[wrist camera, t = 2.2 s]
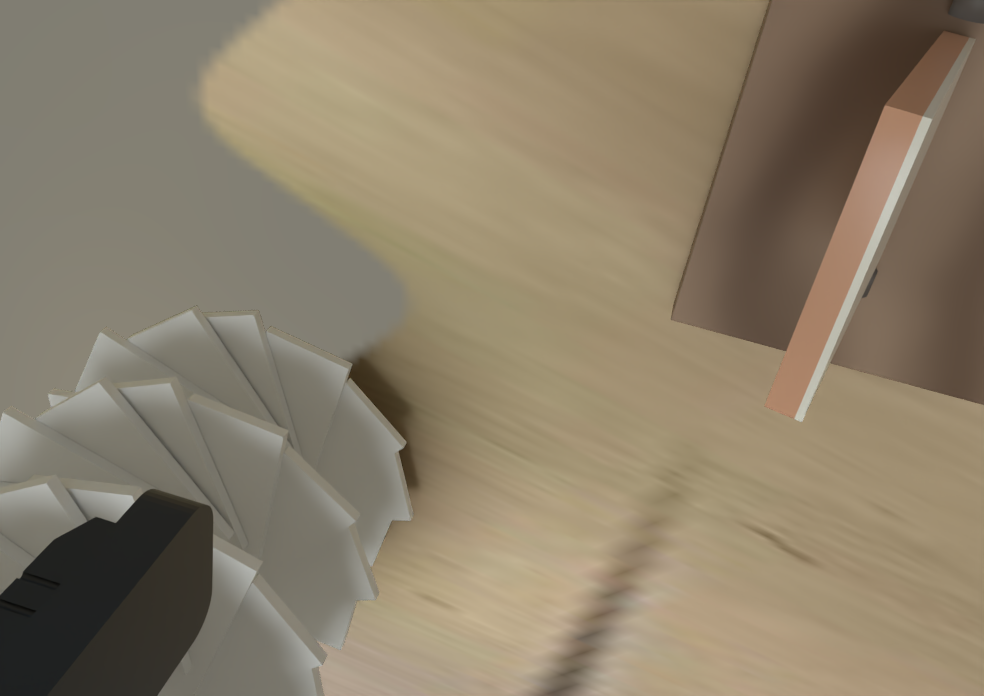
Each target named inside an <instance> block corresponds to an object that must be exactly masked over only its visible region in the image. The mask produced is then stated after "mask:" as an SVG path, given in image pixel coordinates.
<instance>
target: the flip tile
mask: <svg viewBox="0 0 984 696" xmlns="http://www.w3.org/2000/svg"><path fill="white" fill-rule="evenodd" d="M975 40H976V39H974V38H970V37H966V36H962V35H959V34H955V33H951V32H947V31H943V33H942V34H941V35H940V36H939V38H938V39H937V40H936V41H935V43H934V44H933V45H932V46H931V48H930V49H929V50H928V51H927V53H926V54H925V55H924V56H923V58H922V59H921V60H920V61H919V63H918V64H917V65H916V67H915V68H914V69H913V70H912V72H911V73H910V74H909V75H908V77H907V78H906V79H905V80H904V82H903V83H902V84H901V85H900V87H899V88H898V89H897V90H896V92H895V93H894V94H893V95H892V97H891V98H890V99H889V100H888V102H887V103H886V104H885V106H884V108H883V111H882V113H881V116H880V118H879V121H878V123H877V126H876V128H875V131H874V133H873V136H872V138H871V141H870V143H869V146H868V148H867V151H866V153H865V156H864V158H863V161H862V163H861V166H860V168H859V171H858V173H857V176H856V178H855V181H854V183H853V186H852V188H851V191H850V193H849V196H848V198H847V201H846V203H845V206H844V208H843V211H842V213H841V216H840V218H839V221H838V223H837V226H836V228H835V231H834V233H833V236H832V238H831V241H830V243H829V246H828V248H827V251H826V253H825V256H824V258H823V261H822V263H821V266H820V268H819V271H818V273H817V276H816V278H815V281H814V283H813V286H812V288H811V291H810V293H809V296H808V298H807V301H806V303H805V306H804V308H803V311H802V313H801V316H800V318H799V321H798V323H797V326H796V328H795V331H794V333H793V336H792V338H791V341H790V343H789V346H788V348H787V351H786V353H785V356H784V358H783V361H782V363H781V366H780V368H779V371H778V373H777V376H776V378H775V381H774V383H773V386H772V388H771V391H770V393H769V396H768V398H767V401H766V403H765V407H767V408H769V409H772V410H774V411H776V412H779V413H781V414H784V415H786V416H788V417H791V418H793V419H795V420H798V421H800V422H802V421H803V419H804V417H805V415H806V412H807V410H808V408H809V406H810V404H811V402H812V400H813V398H814V396H815V394H816V392H817V390H818V387H819V385H820V383H821V381H822V379H823V377H824V375H825V373H826V371H827V369H828V367H829V365H830V362H831V360H832V358H833V356H834V354H835V352H836V350H837V348H838V346H839V344H840V342H841V340H842V337H843V335H844V333H845V331H846V329H847V327H848V325H849V323H850V321H851V319H852V317H853V315H854V313H855V310H856V308H857V306H858V304H859V302H860V300H861V298H862V296H863V294H864V292H865V290H866V288H867V285H868V283H869V281H870V279H871V277H872V275H873V273H874V271H875V269H876V267H877V265H878V263H879V260H880V258H881V256H882V254H883V251H884V249H885V247H886V244H887V242H888V240H889V237H890V235H891V233H892V231H893V228H894V226H895V224H896V221H897V219H898V217H899V215H900V212H901V210H902V208H903V205H904V203H905V201H906V199H907V196H908V194H909V192H910V189H911V187H912V185H913V182H914V180H915V178H916V176H917V173H918V171H919V169H920V166H921V164H922V162H923V160H924V157H925V155H926V153H927V150H928V148H929V146H930V143H931V141H932V139H933V137H934V134H935V132H936V130H937V127H938V125H939V123H940V121H941V118H942V116H943V114H944V111H945V109H946V107H947V104H948V102H949V100H950V98H951V95H952V93H953V91H954V88H955V86H956V84H957V82H958V79H959V77H960V75H961V72H962V70H963V68H964V65H965V63H966V61H967V59H968V56H969V54H970V52H971V49H972V47H973V45H974V43H975Z"/></svg>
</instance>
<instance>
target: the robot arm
mask: <svg viewBox="0 0 984 696" xmlns="http://www.w3.org/2000/svg"><path fill="white" fill-rule="evenodd" d="M212 576H213V511H212V509H211V507H210V506H209V505H206V504H202V503H199V502H196V501H193V500H189V499H186V498H183V497H180V496H176V495H173V494H170V493H167V492H163V491H160V490H157V489H150V490H147V491H146V492H144V493H143V494H142V495H141V496H140V497H139V498H138V499H137V500H136V501H135V502H134V503H133V504H132V506H131V507H130V508H129V509H128V510H127V511H126V512H125V513H124V514H123V516H122V517H121V518H120V519H119V520H118V521H117V522H116V523H114V522H111V521H108V520H105V519H102V518H98V517H95V518H93V519H91V520H89V521H87V522H85V523H83V524H82V525H80V526H78V527H76V528H74V529H72V530H71V531H69V532H67V533H65V534H63V535H61V536H59V537H58V538H56V539H54V540H53V541H52V542H51V543H50V544H49V545H48V546H47V547H46V548H45V549H44V550H43V551H42V552H41V553H40V554H39V555H38V556H37V557H36V558H35V559H34V561H33V562H32V563H31V564H30V565H29V566H28V567H27V568H26V569H25V570H24V571H23V574H22V576H21V578H20V579H19V578H16V579H15V580H14V581H13V582H12V583H11V584H10V585H9V586H8V587H7V588H6V589H5V590H4V591H3V593H2V594H1V595H0V696H158V694H159V693H160V691H161V690H162V688H163V687H164V685H165V684H166V682H167V681H168V679H169V678H170V676H171V675H172V673H173V672H174V670H175V669H176V668H177V666H178V665H179V663H180V662H181V660H182V659H183V657H184V656H185V654H186V653H187V651H188V650H189V648H190V647H191V645H192V644H193V642H194V641H195V639H196V637H197V636H198V634H199V632H200V630H201V628H202V626H203V623H204V621H205V618H206V616H207V613H208V609H209V606H210V602H211V597H212Z"/></svg>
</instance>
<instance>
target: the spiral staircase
mask: <svg viewBox="0 0 984 696" xmlns="http://www.w3.org/2000/svg"><path fill="white" fill-rule="evenodd" d="M352 365H353V364H352V363H350V362H348V361H346V360H343V359H341V358H339V357H337V356H335V355H333V354H330V353H328V352H326V351H324V350H322V349H320V348H317V347H315V346H313V345H311V344H309V343H306V342H304V341H302V340H300V339H298V338H296V337H294V336H291V335H289V334H287V333H285V332H283V331H280V330H278V329H276V328H274V327H272V326H270V327H269V329H268V330H266V332H265V329H264V325H263V322H262V319H261V315H260V312H259V310H253V311H229V312H204V313H202V312H201V311H200V309H199V308H198V306H195V307H192V308H190V309H188V310H186V311H184V312H181V313H179V314H177V315H175V316H172V317H170V318H168V319H166V320H164V321H162V322H159V323H157V324H155V325H153V326H151V327H148V328H146V329H144V330H142V331H140V332H137V333H135V334H133V335H131V336H130V337H129V338H128V339H125V338H123V337H121V336H120V335H118V334H117V333H115V332H114V331H112V330H111V329H109V328H108V327H105V328H104V329H103V330H101V331H100V333H99V335H98V338H97V340H96V343H95V345H94V347H93V349H92V352H91V354H90V357H89V359H88V361H87V364H86V366H85V368H84V371H83V373H82V375H81V378H80V380H79V382H78V385H77V387H76V389H75V392H73V391H66V390H61V389H55V388H54V389H53V390H52V391H50V392H49V393H48V398H49V402H50V406H51V408H50V409H48V410H46V411H44V412H42V413H41V414H40V415H39V416H37V417H36V418H35V419H34V418H32V417H30V416H28V415H26V414H25V413H23V412H21V411H19V410H17V409H16V408H14V407H12V406H11V407H9V408H8V409H7V410H5V411H4V412H3V415H2V418H1V422H0V595H1V594H2V593H3V591H4V590H5V589H6V588H7V587H8V586H9V585H10V584H11V583H12V582H13V581H14V580H15V579H16V578H19V579H20V578H21V576H22V574H23V571H24V570H25V569H26V568H27V567H28V566H29V565H30V564H31V563H32V562H33V561H34V559H35V558H36V557H37V556H38V555H39V554H40V553H41V552H42V551H43V550H44V549H45V548H46V547H47V546H48V545H49V544H50V543H51V542H52V541H53V540H54V539H56V538H58V537H59V536H61V535H63V534H65V533H67V532H69V531H71V530H72V529H74V528H76V527H78V526H80V525H82V524H83V523H85V522H87V521H89V520H91V519H93V518H95V517H98V518H102V519H105V520H108V521H111V522H114V523H116V522H117V521H118V520H119V519H120V518H121V517H122V516H123V514H124V513H125V512H126V511H127V510H128V509H129V508H130V507H131V506H132V504H133V503H134V502H135V501H136V500H137V499H138V498H139V497H140V496H141V495H142V494H143V493H144V492H146V491H147V490H150V489H157V490H160V491H163V492H167V493H170V494H173V495H176V496H180V497H183V498H186V499H189V500H193V501H196V502H199V503H202V504H206V505H209V506H210V507H211V509H212V511H213V576H212V597H211V602H210V606H209V609H208V613H207V616H206V618H205V621H204V623H203V626H202V628H201V630H200V632H199V634H198V636H197V637H196V639H195V641H194V642H193V644H192V645H191V647H190V648H189V650H188V651H187V653H186V654H185V656H184V657H183V659H182V660H181V662H180V663H179V665H178V666H177V668H176V669H175V670H174V672H173V673H172V675H171V676H170V678H169V679H168V681H167V682H166V684H165V685H164V687H163V688H162V690H161V691H160V693H159V694H158V696H324V692H323V687H322V682H321V677H320V672H319V667H318V666H322V665H323V663H324V661H325V659H326V657H327V653H326V652H325V651H324V650H323V649H322V647H321V646H320V645H319V644H318V643H317V642H316V640H317V641H319V642H322V643H324V644H327V645H329V646H332V647H334V648H336V649H339V650H341V649H342V647H343V645H344V643H345V640H346V637H347V633H348V630H349V627H350V623H351V620H352V617H353V613H354V610H355V606H356V603H357V600H376V599H377V597H378V595H379V589H378V587H377V584H376V581H375V579H374V576H373V573H372V570H371V568H370V566H372V565H373V563H374V561H375V559H376V557H377V555H378V552H379V550H380V547H381V545H382V543H383V540H384V538H385V536H386V533H387V531H388V529H389V526H390V524H391V522H392V520H397V521H411V520H412V517H413V515H414V513H413V509H412V505H411V501H410V497H409V493H408V488H407V484H406V480H405V476H404V472H403V468H402V464H401V459H400V455H399V450H401V449H403V448H404V446H405V445H406V443H407V442H406V441H405V440H404V438H403V437H402V436H401V435H400V434H399V433H398V432H397V430H396V429H395V428H394V427H393V426H392V425H391V424H390V423H389V421H388V420H387V419H386V418H385V417H384V416H383V415H382V413H381V412H380V411H379V410H378V409H377V408H376V407H375V405H374V404H373V403H372V402H371V401H370V400H369V399H368V397H367V396H366V395H365V394H364V393H363V392H362V391H361V390H360V388H359V387H358V386H357V385H356V384H355V383H354V382H353V380H352V379H351V378H349V379H348V376H349V373H350V371H351V368H352ZM347 379H348V380H347Z"/></svg>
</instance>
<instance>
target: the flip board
mask: <svg viewBox="0 0 984 696" xmlns="http://www.w3.org/2000/svg"><path fill="white" fill-rule="evenodd" d="M943 31H947V32H951V33H955V34H959V35H962V36H966V37H970V38H974V39H976V40H975V43H974V45H973V47H972V49H971V52H970V54H969V56H968V59H967V61H966V63H965V65H964V68H963V70H962V72H961V75H960V77H959V79H958V82H957V84H956V86H955V88H954V91H953V93H952V95H951V98H950V100H949V102H948V104H947V107H946V109H945V111H944V114H943V116H942V118H941V121H940V123H939V125H938V127H937V130H936V132H935V134H934V137H933V139H932V141H931V143H930V146H929V148H928V150H927V153H926V155H925V157H924V160H923V162H922V164H921V166H920V169H919V171H918V173H917V176H916V178H915V180H914V182H913V185H912V187H911V189H910V192H909V194H908V196H907V199H906V201H905V203H904V205H903V208H902V210H901V212H900V215H899V217H898V219H897V221H896V224H895V226H894V228H893V231H892V233H891V235H890V237H889V240H888V242H887V244H886V247H885V249H884V251H883V254H882V256H881V258H880V260H879V263H878V265H877V267H876V269H875V271H874V273H873V275H872V277H871V279H870V281H869V283H868V285H867V288H866V290H865V292H864V294H863V296H862V298H861V300H860V302H859V304H858V306H857V308H856V310H855V313H854V315H853V317H852V319H851V321H850V323H849V325H848V327H847V329H846V331H845V333H844V335H843V337H842V340H841V342H840V344H839V346H838V348H837V350H836V352H835V354H834V356H833V358H832V360H831V362H830V363H832V364H835V365H839V366H843V367H846V368H850V369H854V370H857V371H861V372H865V373H868V374H872V375H876V376H879V377H883V378H887V379H891V380H894V381H898V382H902V383H905V384H909V385H913V386H916V387H920V388H924V389H927V390H931V391H935V392H938V393H942V394H946V395H949V396H953V397H957V398H960V399H964V400H968V401H971V402H975V403H979V404H983V405H984V0H770V1H769V4H768V7H767V10H766V14H765V17H764V20H763V23H762V26H761V29H760V32H759V36H758V39H757V42H756V45H755V48H754V51H753V55H752V58H751V61H750V64H749V67H748V70H747V74H746V77H745V80H744V83H743V86H742V89H741V93H740V96H739V99H738V102H737V105H736V108H735V111H734V115H733V118H732V121H731V124H730V127H729V130H728V134H727V137H726V140H725V143H724V146H723V149H722V153H721V156H720V159H719V162H718V165H717V168H716V172H715V175H714V178H713V181H712V184H711V187H710V190H709V194H708V197H707V200H706V203H705V206H704V209H703V213H702V216H701V219H700V222H699V225H698V228H697V232H696V235H695V238H694V241H693V244H692V247H691V251H690V254H689V257H688V260H687V263H686V266H685V269H684V273H683V276H682V279H681V282H680V285H679V288H678V292H677V295H676V298H675V301H674V305H673V311H672V316H671V320H673V321H677V322H681V323H684V324H688V325H692V326H695V327H699V328H703V329H707V330H710V331H714V332H718V333H721V334H725V335H729V336H732V337H736V338H740V339H743V340H747V341H751V342H754V343H758V344H762V345H765V346H769V347H773V348H776V349H780V350H784V351H787V348H788V346H789V343H790V341H791V338H792V336H793V333H794V331H795V328H796V326H797V323H798V321H799V318H800V316H801V313H802V311H803V308H804V306H805V303H806V301H807V298H808V296H809V293H810V291H811V288H812V286H813V283H814V281H815V278H816V276H817V273H818V271H819V268H820V266H821V263H822V261H823V258H824V256H825V253H826V251H827V248H828V246H829V243H830V241H831V238H832V236H833V233H834V231H835V228H836V226H837V223H838V221H839V218H840V216H841V213H842V211H843V208H844V206H845V203H846V201H847V198H848V196H849V193H850V191H851V188H852V186H853V183H854V181H855V178H856V176H857V173H858V171H859V168H860V166H861V163H862V161H863V158H864V156H865V153H866V151H867V148H868V146H869V143H870V141H871V138H872V136H873V133H874V131H875V128H876V126H877V123H878V121H879V118H880V116H881V113H882V111H883V108H884V106H885V104H886V103H887V102H888V100H889V99H890V98H891V97H892V95H893V94H894V93H895V92H896V90H897V89H898V88H899V87H900V85H901V84H902V83H903V82H904V80H905V79H906V78H907V77H908V75H909V74H910V73H911V72H912V70H913V69H914V68H915V67H916V65H917V64H918V63H919V61H920V60H921V59H922V58H923V56H924V55H925V54H926V53H927V51H928V50H929V49H930V48H931V46H932V45H933V44H934V43H935V41H936V40H937V39H938V38H939V36H940V35H941V34H942V33H943Z"/></svg>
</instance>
